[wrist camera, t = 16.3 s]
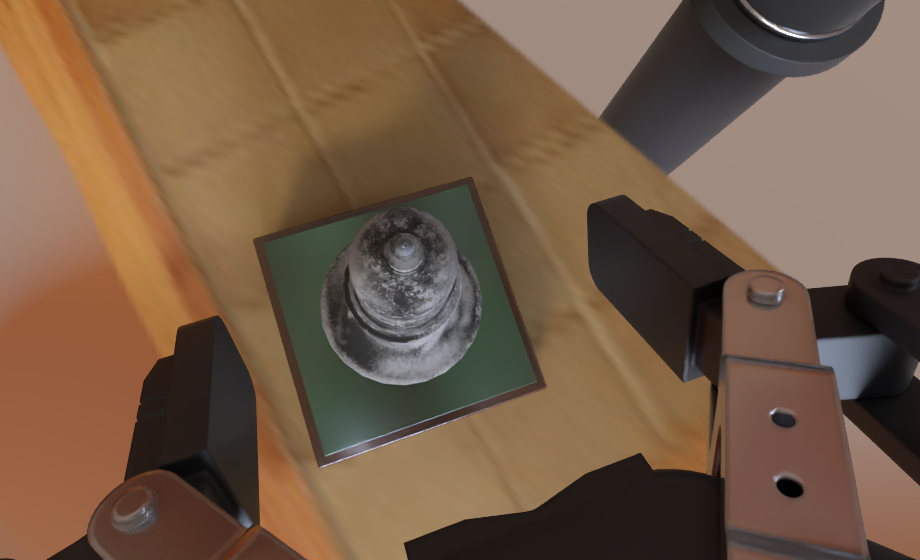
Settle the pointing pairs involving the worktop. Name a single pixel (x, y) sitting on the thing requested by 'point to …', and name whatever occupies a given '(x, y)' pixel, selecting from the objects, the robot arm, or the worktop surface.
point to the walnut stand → (368, 401)
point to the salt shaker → (401, 299)
